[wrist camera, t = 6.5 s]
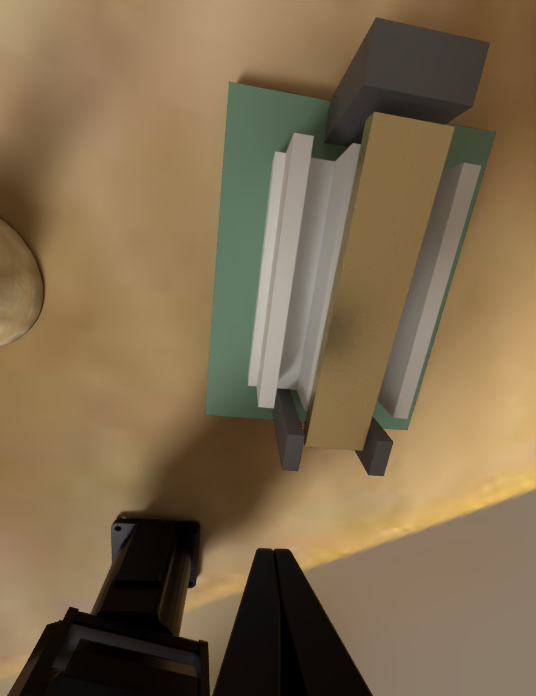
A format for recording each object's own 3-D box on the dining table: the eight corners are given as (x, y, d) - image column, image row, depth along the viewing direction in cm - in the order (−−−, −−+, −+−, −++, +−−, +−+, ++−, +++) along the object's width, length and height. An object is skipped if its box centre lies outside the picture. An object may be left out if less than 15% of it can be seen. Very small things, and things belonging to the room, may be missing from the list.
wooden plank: (357, 440, 16) (362, 450, 15) (302, 436, 16) (305, 446, 15) (441, 134, 11) (455, 126, 11) (365, 119, 11) (374, 111, 10)
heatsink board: (400, 422, 22) (461, 488, 16) (206, 407, 20) (189, 473, 14) (481, 139, 17) (619, 72, 11) (230, 92, 15) (219, -18, 9)
